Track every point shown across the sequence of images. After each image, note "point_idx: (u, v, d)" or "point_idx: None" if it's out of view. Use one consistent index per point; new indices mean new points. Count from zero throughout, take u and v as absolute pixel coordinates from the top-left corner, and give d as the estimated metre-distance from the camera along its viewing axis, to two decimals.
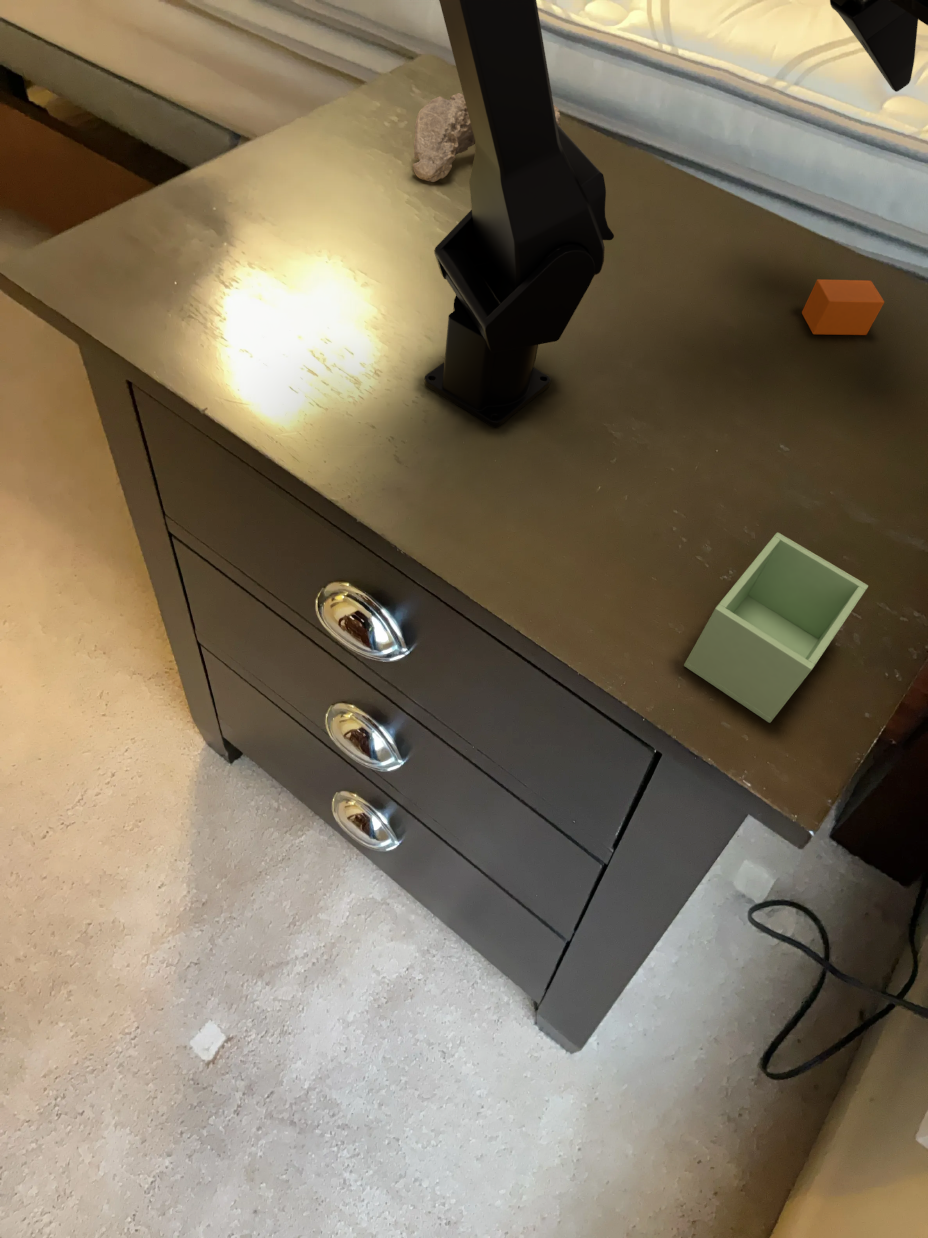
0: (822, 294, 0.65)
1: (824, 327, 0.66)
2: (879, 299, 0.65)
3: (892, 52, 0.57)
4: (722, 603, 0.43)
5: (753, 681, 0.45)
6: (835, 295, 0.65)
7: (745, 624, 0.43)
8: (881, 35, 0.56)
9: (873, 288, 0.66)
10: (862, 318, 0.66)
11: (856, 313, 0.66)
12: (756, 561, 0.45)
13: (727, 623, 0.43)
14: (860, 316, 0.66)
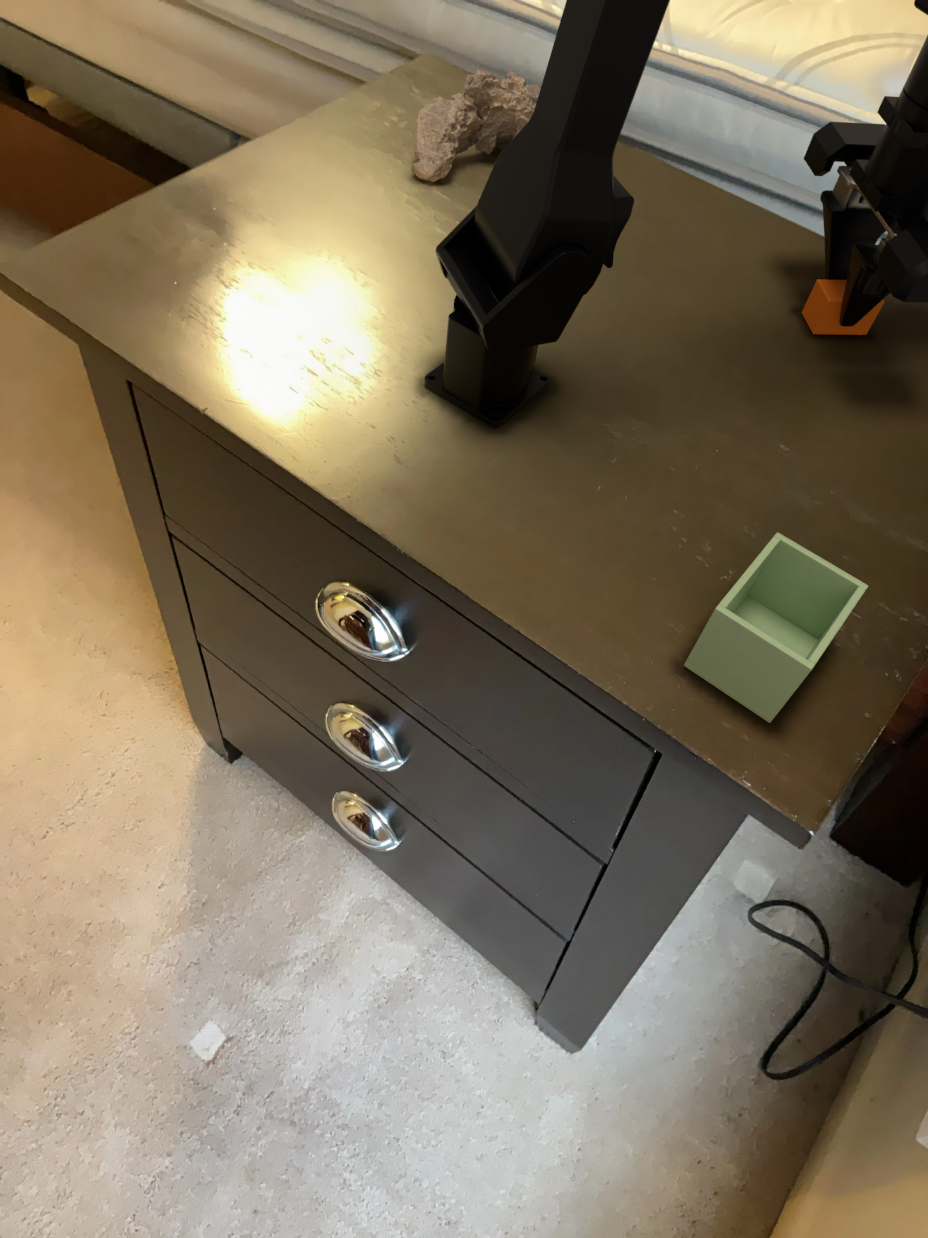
0: (822, 294, 0.65)
1: (824, 327, 0.66)
2: None
3: (841, 264, 0.66)
4: (722, 603, 0.43)
5: (753, 681, 0.45)
6: (835, 295, 0.65)
7: (745, 624, 0.43)
8: (842, 243, 0.64)
9: None
10: (862, 318, 0.66)
11: None
12: (756, 561, 0.45)
13: (727, 623, 0.43)
14: None
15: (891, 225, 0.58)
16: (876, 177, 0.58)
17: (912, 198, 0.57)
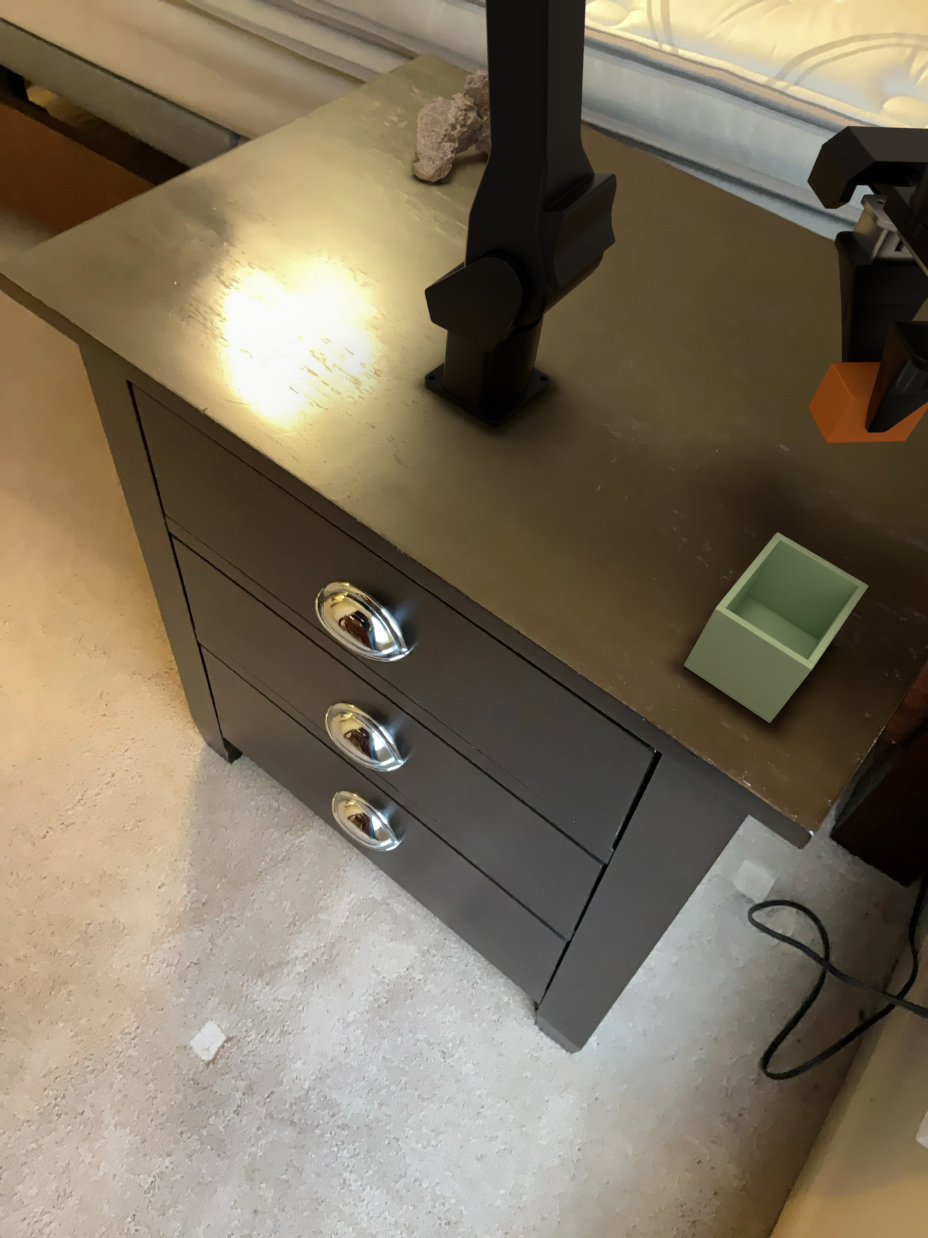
0: (840, 386, 0.43)
1: (843, 433, 0.44)
2: None
3: (867, 341, 0.43)
4: (722, 603, 0.43)
5: (753, 681, 0.45)
6: (861, 389, 0.43)
7: (745, 624, 0.43)
8: (868, 311, 0.42)
9: None
10: None
11: None
12: (756, 561, 0.45)
13: (727, 623, 0.43)
14: None
15: None
16: None
17: None
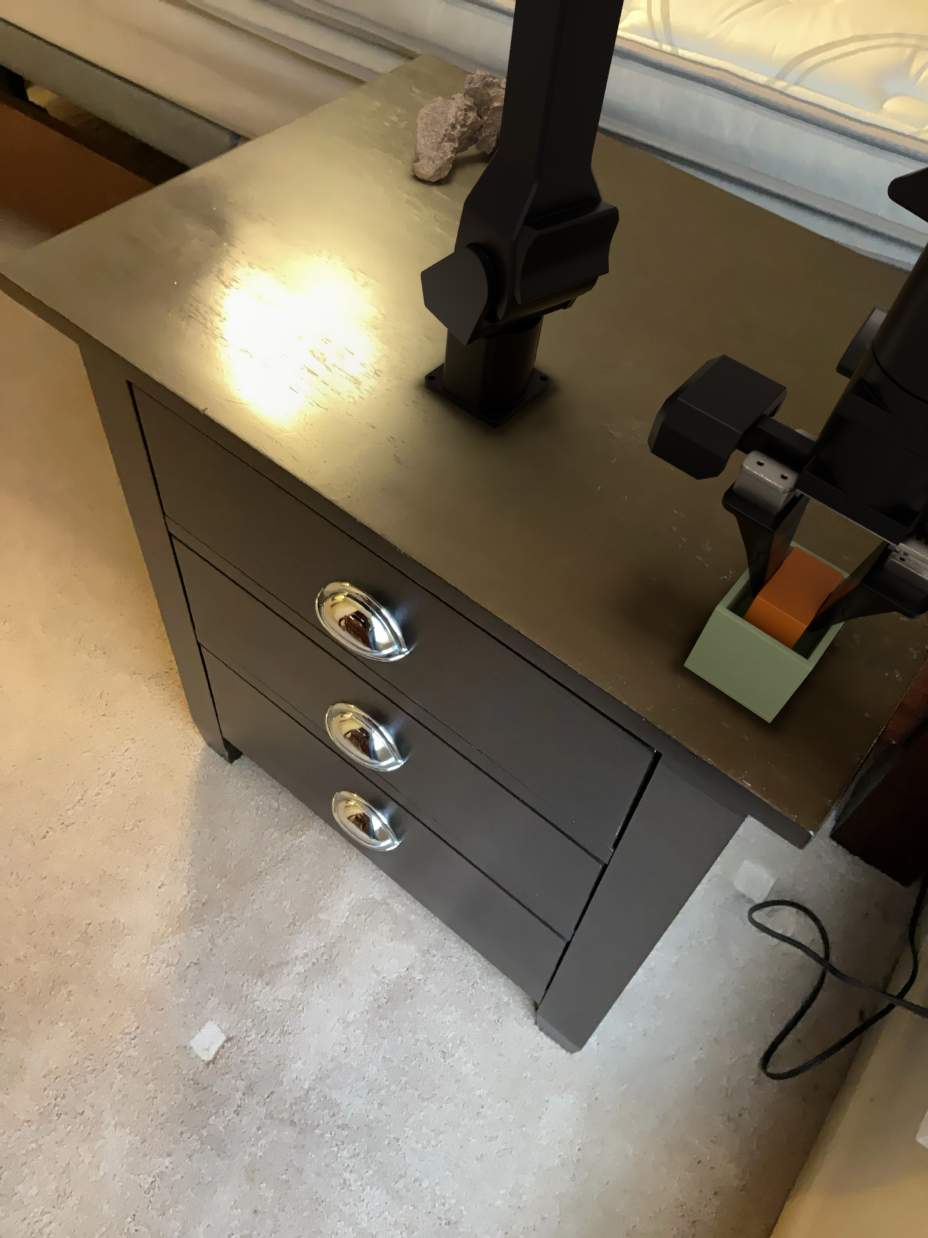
0: (782, 616, 0.43)
1: None
2: (837, 574, 0.44)
3: (775, 563, 0.43)
4: (722, 603, 0.43)
5: (753, 681, 0.45)
6: (801, 610, 0.43)
7: (745, 624, 0.43)
8: (778, 547, 0.41)
9: (813, 559, 0.45)
10: None
11: None
12: None
13: (727, 623, 0.43)
14: None
15: (911, 544, 0.36)
16: (876, 500, 0.35)
17: None
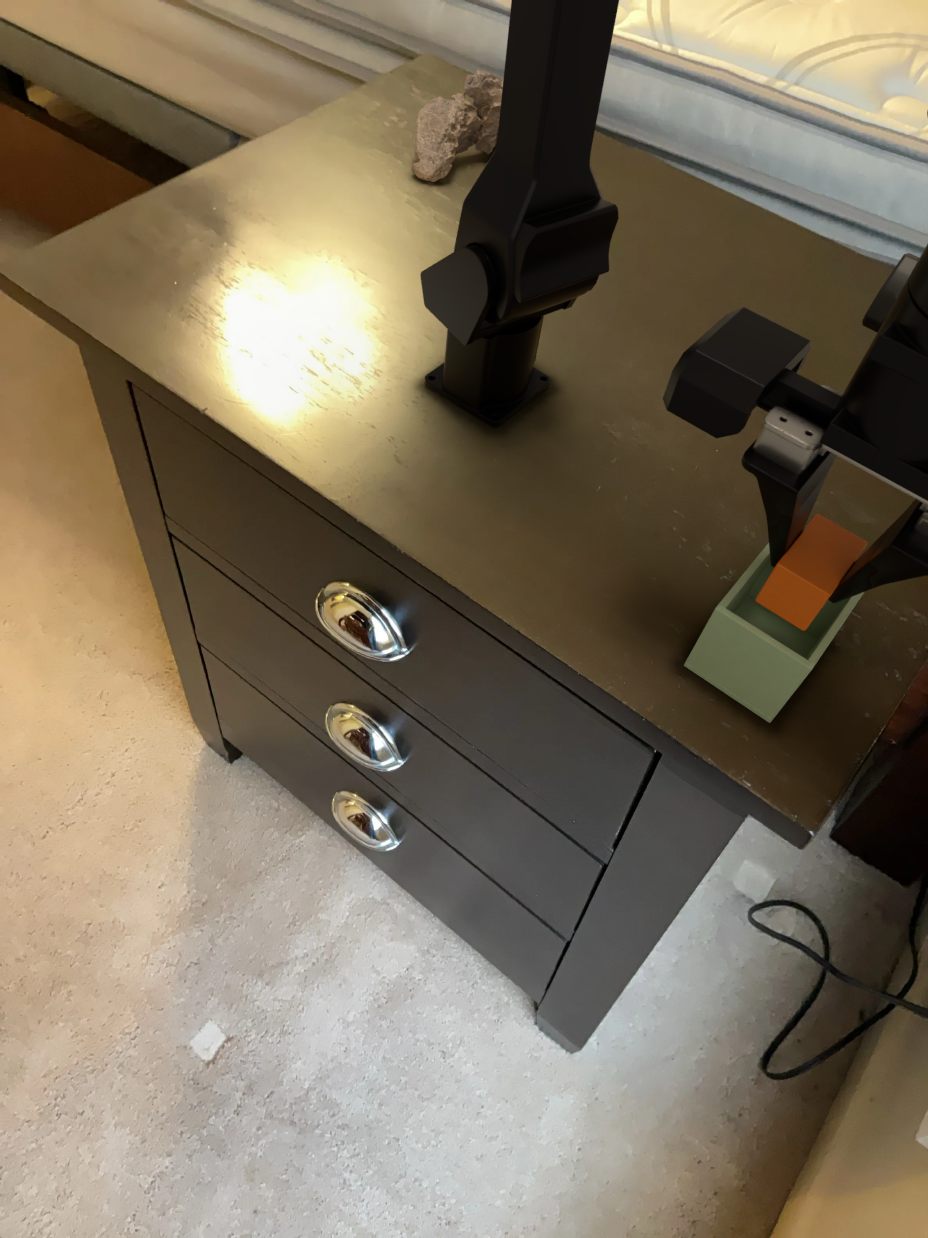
0: (804, 585, 0.41)
1: None
2: (860, 542, 0.42)
3: (797, 529, 0.41)
4: (722, 603, 0.43)
5: (753, 681, 0.45)
6: (824, 579, 0.40)
7: (745, 624, 0.43)
8: (800, 511, 0.39)
9: (835, 527, 0.43)
10: None
11: None
12: (756, 561, 0.45)
13: (727, 623, 0.43)
14: None
15: None
16: (909, 453, 0.33)
17: None
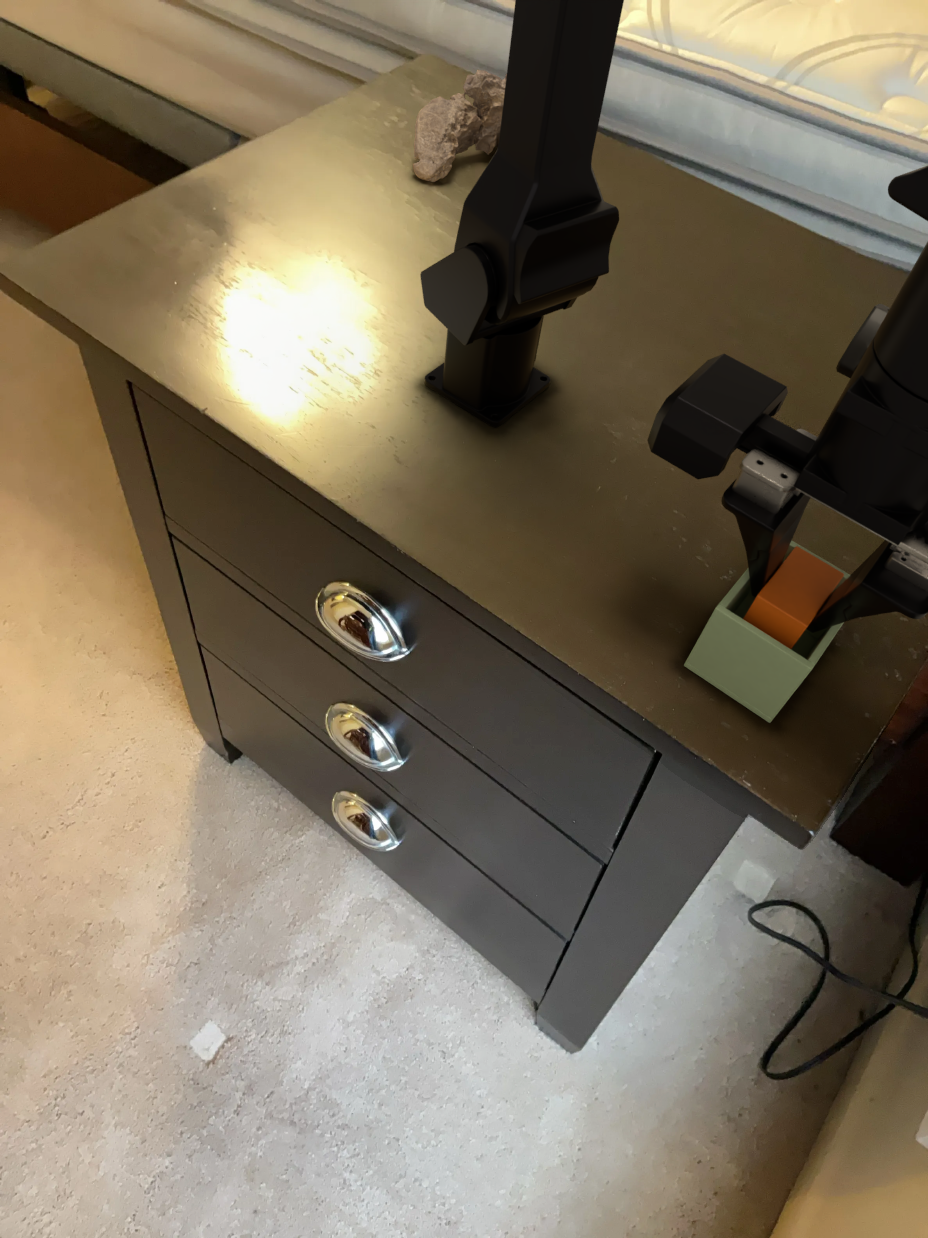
0: (782, 616, 0.43)
1: None
2: (837, 574, 0.44)
3: (775, 562, 0.43)
4: (722, 603, 0.43)
5: (753, 681, 0.45)
6: (802, 610, 0.43)
7: (745, 624, 0.43)
8: (778, 546, 0.41)
9: (813, 559, 0.45)
10: None
11: None
12: None
13: (727, 623, 0.43)
14: None
15: (911, 543, 0.36)
16: (876, 499, 0.35)
17: None
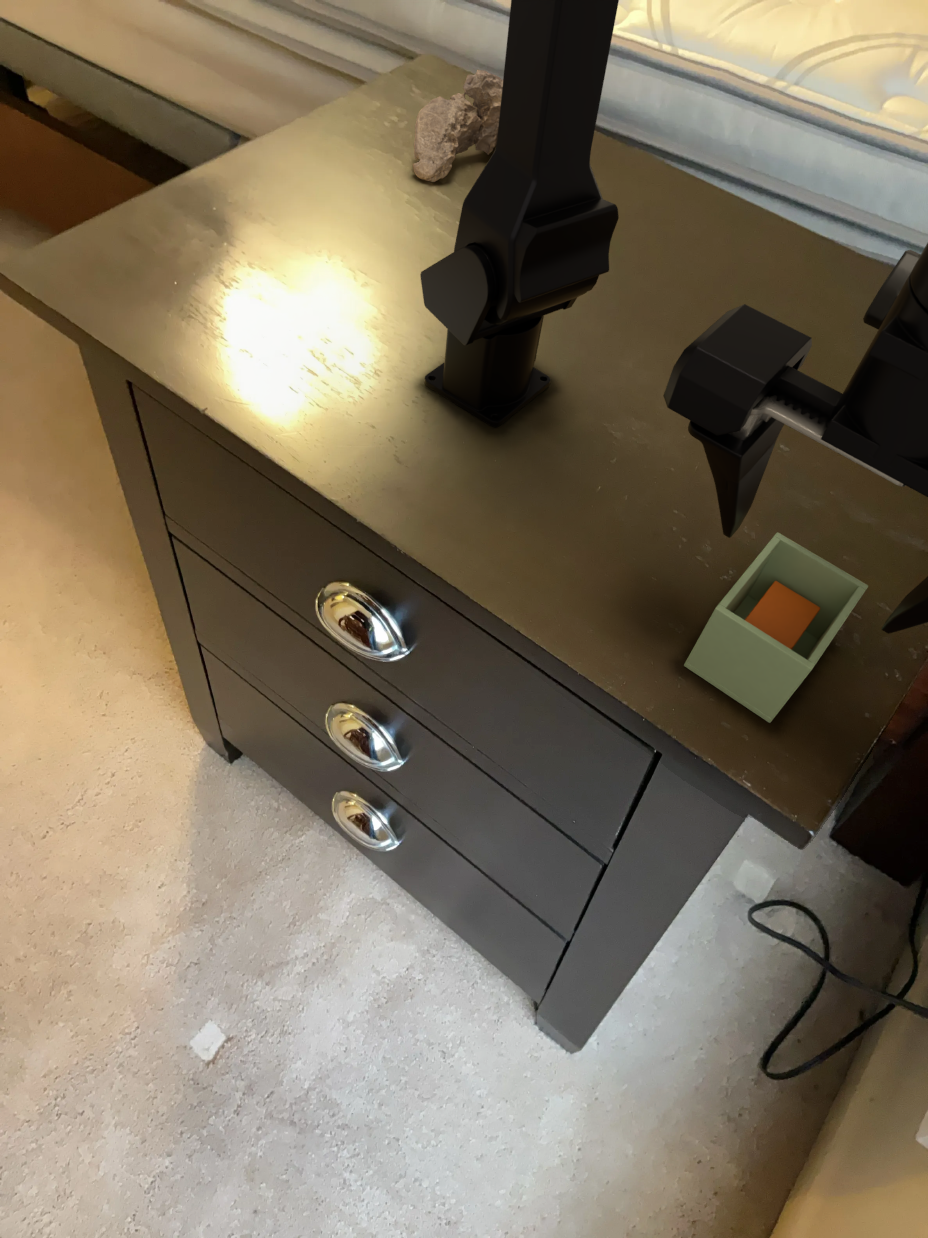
0: None
1: None
2: (814, 608, 0.46)
3: (746, 496, 0.41)
4: (722, 603, 0.43)
5: (753, 681, 0.45)
6: None
7: (745, 624, 0.43)
8: (747, 477, 0.40)
9: (791, 593, 0.47)
10: None
11: None
12: (756, 561, 0.45)
13: (727, 623, 0.43)
14: None
15: None
16: (911, 450, 0.33)
17: None
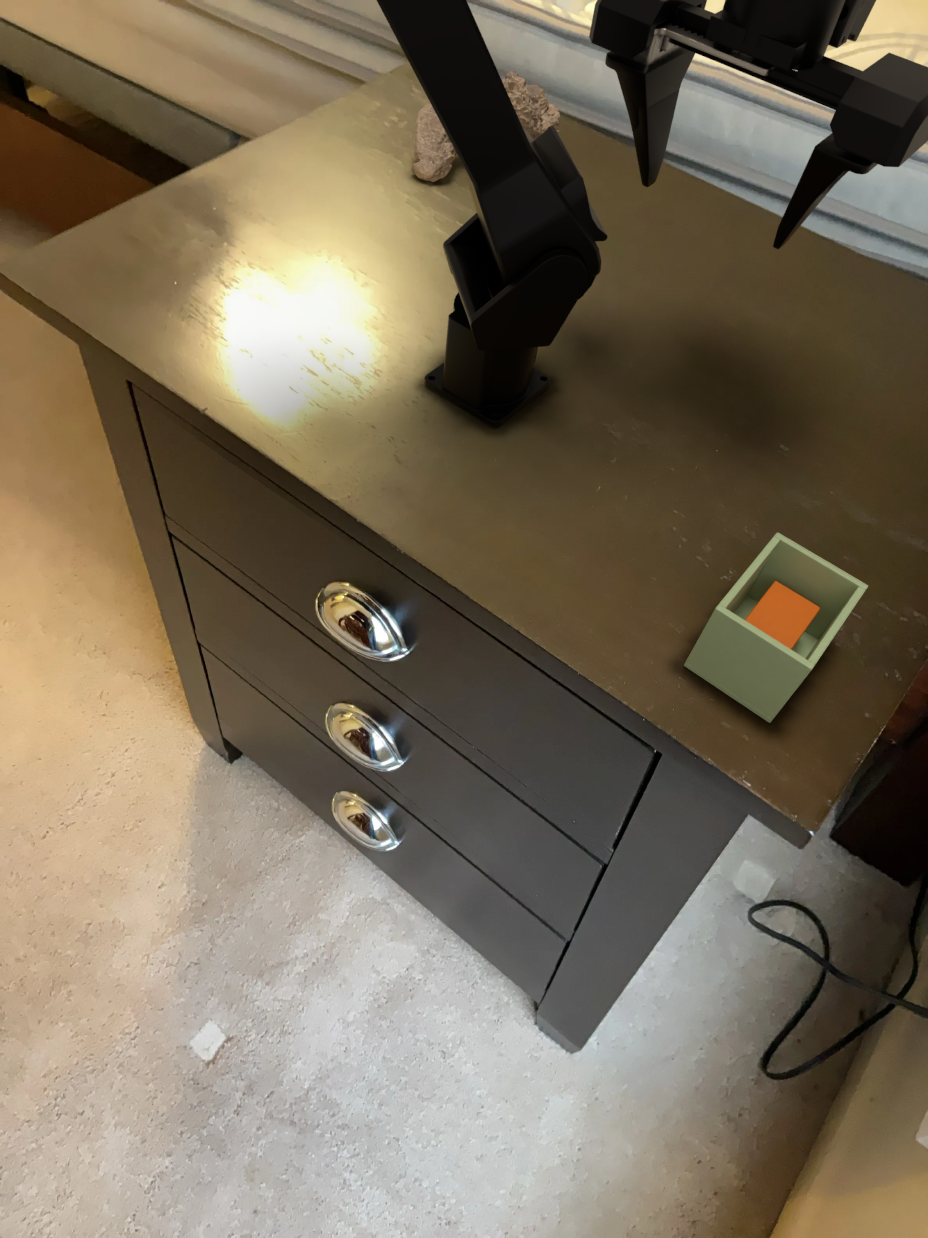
0: None
1: None
2: (814, 608, 0.46)
3: (656, 136, 0.51)
4: (722, 603, 0.43)
5: (753, 681, 0.45)
6: None
7: (745, 624, 0.43)
8: (655, 110, 0.50)
9: (791, 593, 0.47)
10: None
11: None
12: (756, 561, 0.45)
13: (727, 623, 0.43)
14: None
15: (750, 60, 0.45)
16: (768, 27, 0.42)
17: (819, 37, 0.43)
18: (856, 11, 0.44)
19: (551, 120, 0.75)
